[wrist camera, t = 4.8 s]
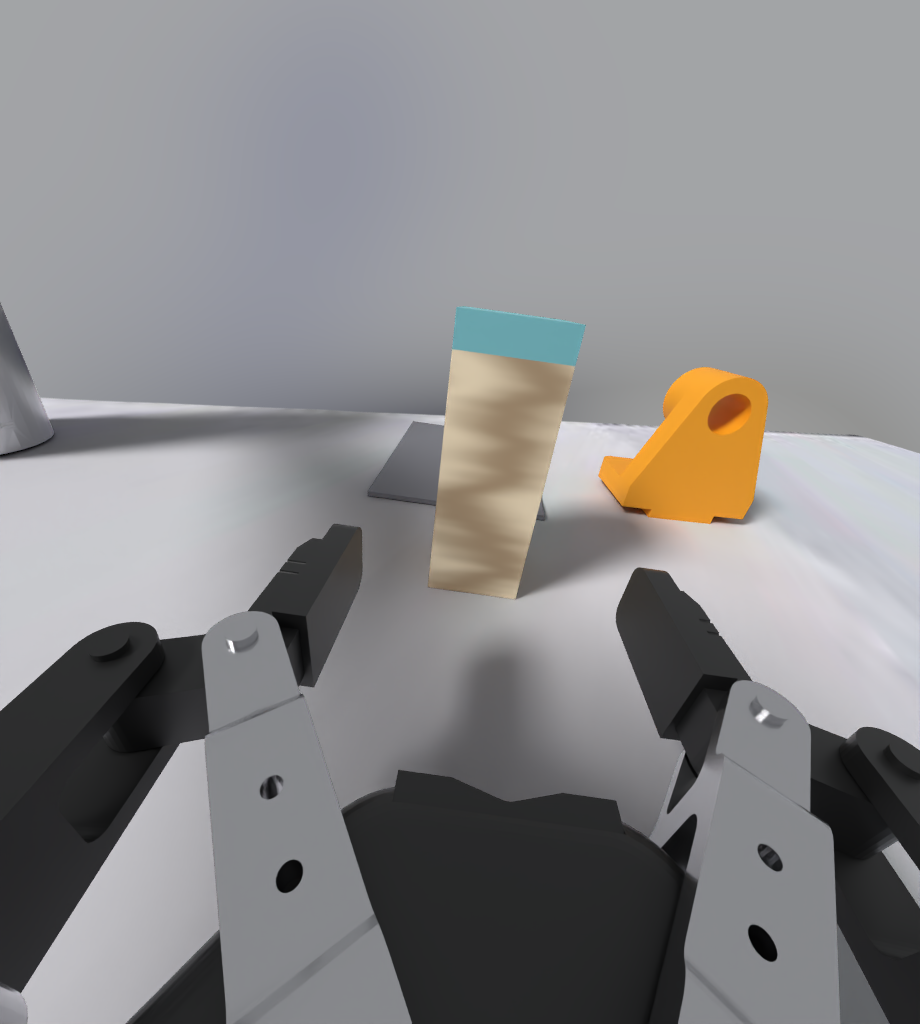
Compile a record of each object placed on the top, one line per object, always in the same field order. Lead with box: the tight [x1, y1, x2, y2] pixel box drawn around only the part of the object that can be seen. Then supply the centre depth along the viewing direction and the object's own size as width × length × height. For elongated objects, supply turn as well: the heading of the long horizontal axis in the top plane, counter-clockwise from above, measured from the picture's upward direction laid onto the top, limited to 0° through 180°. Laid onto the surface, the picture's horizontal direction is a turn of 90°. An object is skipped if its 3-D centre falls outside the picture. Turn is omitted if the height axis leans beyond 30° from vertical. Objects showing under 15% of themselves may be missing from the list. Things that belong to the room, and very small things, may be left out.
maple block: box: [428, 306, 586, 599], centre depth 20 cm, size 5×5×14 cm
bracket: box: [599, 367, 768, 524], centre depth 33 cm, size 11×7×12 cm, turn 90°
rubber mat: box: [368, 421, 545, 520], centre depth 38 cm, size 20×14×1 cm
